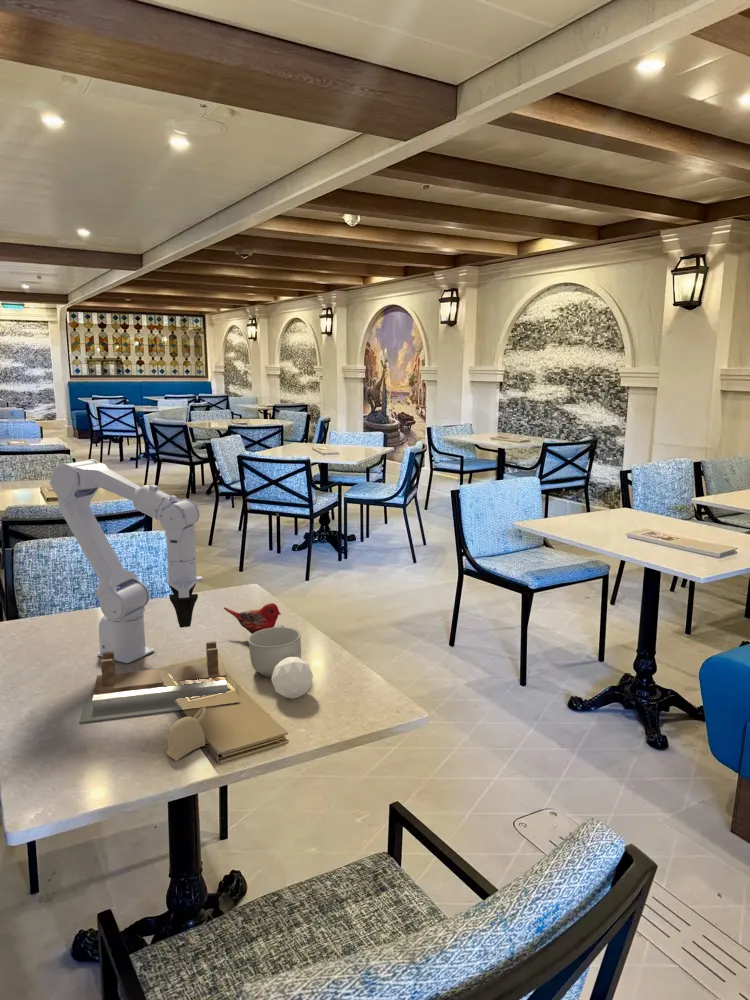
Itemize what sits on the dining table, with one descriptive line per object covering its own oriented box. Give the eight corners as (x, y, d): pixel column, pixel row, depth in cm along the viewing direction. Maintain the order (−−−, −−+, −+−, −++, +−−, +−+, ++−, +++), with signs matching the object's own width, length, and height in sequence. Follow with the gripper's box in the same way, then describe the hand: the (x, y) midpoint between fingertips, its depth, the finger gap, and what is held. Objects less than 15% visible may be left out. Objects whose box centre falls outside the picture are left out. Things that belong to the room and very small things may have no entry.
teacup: (291, 684, 138) (291, 646, 137) (240, 679, 140) (239, 642, 139) (312, 657, 151) (311, 622, 150) (265, 653, 154) (264, 619, 152)
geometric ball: (303, 707, 134) (327, 680, 132) (272, 706, 129) (295, 677, 126) (289, 677, 139) (311, 650, 137) (257, 674, 133) (280, 646, 131)
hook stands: (94, 695, 133) (92, 664, 132) (97, 680, 139) (95, 651, 138) (226, 679, 140) (225, 650, 139) (223, 666, 147) (222, 638, 145)
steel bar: (93, 711, 126) (92, 700, 125) (94, 706, 128) (93, 695, 127) (227, 695, 133) (227, 684, 132) (226, 690, 135) (226, 679, 134)
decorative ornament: (159, 753, 113) (158, 723, 112) (201, 733, 119) (200, 704, 118) (175, 762, 110) (173, 731, 109) (216, 741, 117) (215, 711, 116)
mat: (79, 723, 122) (79, 722, 122) (84, 701, 130) (84, 699, 130) (240, 703, 130) (240, 701, 130) (235, 683, 138) (235, 681, 138)
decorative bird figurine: (277, 649, 156) (276, 607, 154) (219, 633, 165) (218, 593, 163) (285, 645, 158) (284, 603, 156) (228, 630, 167) (227, 590, 166)
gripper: (203, 566, 139) (205, 630, 141) (199, 548, 152) (201, 607, 155) (166, 568, 137) (169, 633, 139) (166, 551, 150) (169, 610, 153)
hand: (184, 620), depth 147 cm, fingers open, 7 cm apart
